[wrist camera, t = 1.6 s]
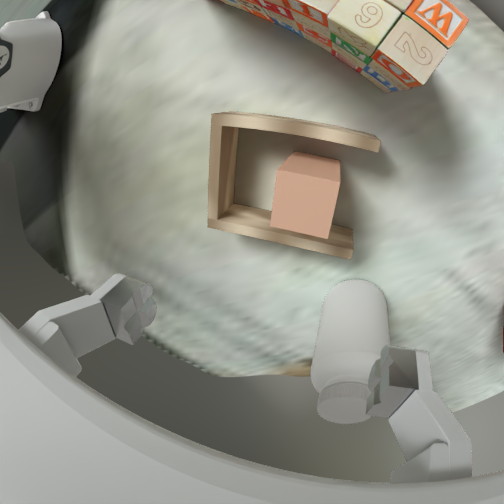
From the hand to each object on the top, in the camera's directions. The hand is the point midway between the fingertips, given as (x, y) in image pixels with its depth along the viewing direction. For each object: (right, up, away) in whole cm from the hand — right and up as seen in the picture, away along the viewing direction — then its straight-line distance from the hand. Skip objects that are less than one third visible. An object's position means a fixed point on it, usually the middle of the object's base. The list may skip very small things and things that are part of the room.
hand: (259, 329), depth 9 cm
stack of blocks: (+5, +25, +9) cm, 27 cm away
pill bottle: (+12, -4, +24) cm, 27 cm away
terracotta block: (+6, +10, +18) cm, 21 cm away
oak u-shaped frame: (+4, +10, +18) cm, 21 cm away
